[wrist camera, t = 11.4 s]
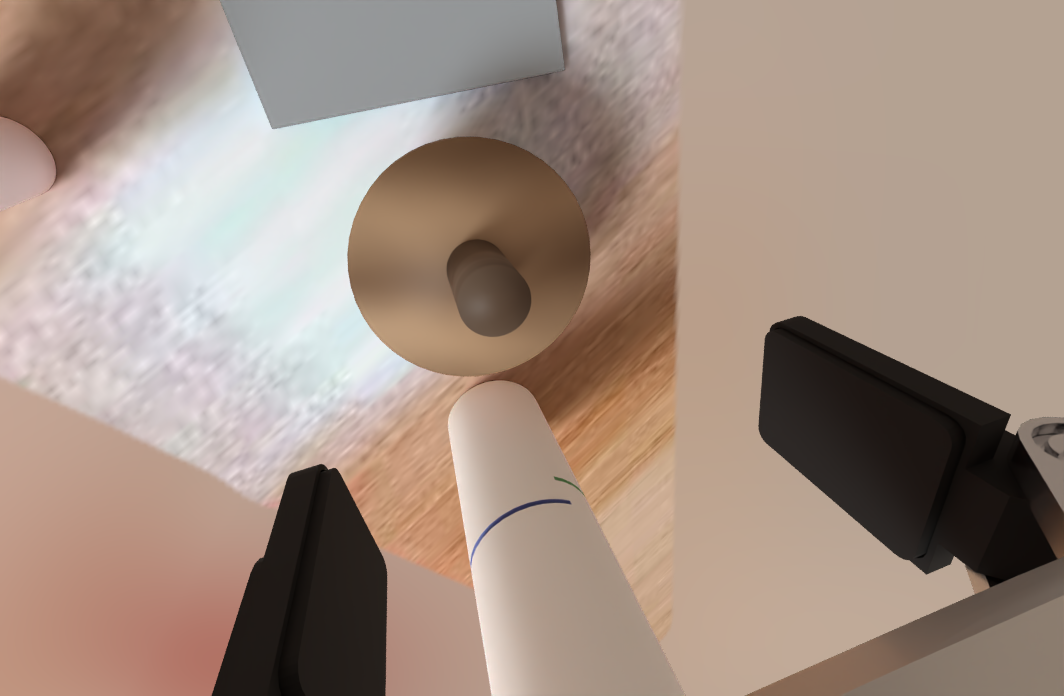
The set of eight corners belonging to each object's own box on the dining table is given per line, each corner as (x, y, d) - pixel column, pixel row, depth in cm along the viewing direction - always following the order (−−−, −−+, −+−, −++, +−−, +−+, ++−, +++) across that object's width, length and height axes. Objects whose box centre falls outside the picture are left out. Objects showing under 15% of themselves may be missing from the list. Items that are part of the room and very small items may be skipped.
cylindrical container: (456, 376, 33) (569, 864, 11) (549, 384, 35) (795, 801, 13) (440, 457, 35) (507, 984, 14) (528, 460, 38) (704, 914, 16)
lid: (307, 169, 20) (274, 183, 15) (564, 111, 22) (617, 105, 16) (397, 394, 26) (396, 462, 20) (596, 334, 27) (643, 382, 22)
